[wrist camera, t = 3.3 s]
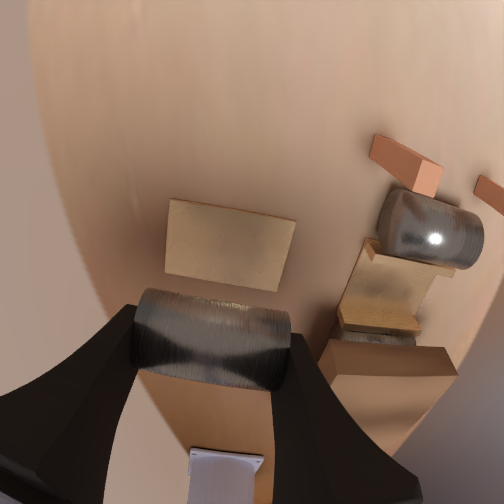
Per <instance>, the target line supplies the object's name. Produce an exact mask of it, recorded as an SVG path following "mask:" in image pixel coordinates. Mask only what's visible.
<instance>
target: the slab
mask: <svg viewBox="0 0 504 504" xmlns="http://www.w3.org/2000/svg"><path fill="white" fill-rule="evenodd" d="M318 366H319V368H320V370H321V372H322V373H323V375H324V377H325V378H326V380H327V382H328V384H329V385H330V387H331V388H332V390H333V392H334V393H335V395H336V396H337V398H338V399H339V401H340V402H341V403H342V405H343V406H344V408H345V409H346V410H347V412H348V413H349V414H350V416H351V417H352V418H353V419H354V421H355V422H356V423H357V424H358V425H359V426H360V428H361V429H362V430H363V431H364V432H365V433H366V434H367V435H368V436H369V437H370V438H371V439H372V440H373V441H374V442H375V443H376V444H377V445H378V446H379V447H380V448H381V449H382V450H383V451H384V452H385V451H387V450H388V449H389V448H390V447H391V446H392V445H393V444H394V443H395V442H397V441H398V440H399V439H400V438H401V437H402V436H403V435H404V434H405V433H406V432H407V431H408V430H409V429H410V428H411V427H412V426H413V425H414V424H415V423H416V422H417V421H418V420H419V419H420V418H421V417H422V416H423V415H424V414H425V413H426V412H427V411H428V410H429V409H430V408H431V407H432V405H433V404H434V403H435V402H436V401H437V400H438V399H439V398H440V397H441V396H442V394H443V393H444V392H445V391H446V390H447V389H448V387H449V386H450V385H451V384H452V383H453V381H454V380H455V379H456V378H457V377H458V373H457V371H456V369H455V367H454V365H453V363H452V361H451V359H450V357H449V355H448V353H447V351H446V350H445V348H444V347H427V346H409V345H393V344H379V343H367V342H356V341H345V340H335V339H329V341H328V344H327V346H326V348H325V350H324V352H323V354H322V356H321V358H320V360H319V362H318Z"/></svg>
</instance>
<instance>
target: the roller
mask: <svg viewBox="0 0 504 504" xmlns="http://www.w3.org/2000/svg"><path fill="white" fill-rule="evenodd" d="M290 342H291V322H290V317H289V314H288V312H286V311H279V310H273V309H266V308H260V307H254V306H247V305H241V304H235V303H229V302H224V301H218V300H212V299H207V298H201V297H196V296H190V295H185V294H180V293H174V292H169V291H164V290H159V289H154V288H147V289H146V290H145V291H144V293H143V295H142V297H141V299H140V301H139V304H138V307H137V310H136V314H135V318H134V324H133V328H132V335H131V348H130V353H131V362H132V366H133V367H134V368H135V369H140V370H144V371H148V372H153V373H157V374H162V375H167V376H171V377H176V378H182V379H187V380H192V381H198V382H203V383H209V384H216V385H222V386H229V387H236V388H243V389H251V390H259V391H268V392H276V391H278V389H279V388H280V386H281V384H282V381H283V378H284V375H285V372H286V368H287V363H288V356H289V347H290Z"/></svg>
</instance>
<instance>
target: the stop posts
mask: <svg viewBox="0 0 504 504" xmlns="http://www.w3.org/2000/svg"><path fill="white" fill-rule="evenodd" d="M369 157H370V158H371V159H372V160H374V161H375V162H376V163H377V164H379V165H380V166H381V167H383V168H384V169H385V170H387V171H388V172H389V173H390V174H392V175H393V176H394V177H395V178H397V179H398V180H399V181H400V182H402V183H403V184H404V185H405V186H407V187H408V188H409V189H410V190H411V191H413V192H416V193H420V194H423V195H426V196H429V197H432V198H434V196H435V193H436V190H437V188H438V185H439V182H440V179H441V176H442V173H443V170H444V167H442V166H440V165H439V164H437V163H435V162H433V161H432V160H430V159H428V158H426V157H424V156H423V155H421V154H419V153H417V152H415V151H413V150H412V149H410V148H408V147H406V146H404V145H402V144H400V143H398V142H396V141H394V140H392V139H389V138H386V137H383V136H380V135H377V134H375V137H374V141H373V144H372V148H371V151H370V154H369ZM473 194H474V195H476V196H477V197H479V198H480V199H482V200H483V201H484V202H486V203H487V204H489V205H490V206H491V207H493V208H494V209H495V210H497V211H498V212H499V213H501V214H502V215H503V216H504V188H503V187H501V186H499V185H498V184H496V183H495V182H493V181H491V180H489V179H487V178H485V177H483V176H481V175H480V177H479V179H478V182H477V185H476V188H475V191H474V193H473Z"/></svg>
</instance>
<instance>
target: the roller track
mask: <svg viewBox="0 0 504 504" xmlns="http://www.w3.org/2000/svg"><path fill="white" fill-rule="evenodd" d="M295 226H296V221H295V220H290V219H285V218H280V217H274V216H269V215H264V214H258V213H253V212H248V211H242V210H237V209H231V208H225V207H220V206H214V205H208V204H202V203H196V202H190V201H184V200H178V199H172V198H171V199H170V203H169V215H168V227H167V241H166V257H165V273H170V274H175V275H180V276H186V277H191V278H197V279H202V280H208V281H214V282H219V283H225V284H231V285H237V286H243V287H248V288H255V289H261V290H267V291H273V292H277V289H278V285H279V282H280V278H281V275H282V271H283V268H284V265H285V261H286V258H287V254H288V251H289V247H290V244H291V240H292V236H293V233H294V229H295ZM378 239H379V241H378V240H373V239H369V238H366V239H365V242H364V245H363V247H362V250H361V252H360V255H359V257H358V260H357V262H356V265H355V267H354V270H353V272H352V275H351V277H350V280H349V282H348V284H347V287H346V289H345V292H344V294H343V296H342V299H341V301H340V303H339V305H338V308H337V310H336V311H337V315H338V318H339V323H337V324H336V325H335V326H334V327H333V329H332V331H331V334H330V337H329V339H335V340H345V341H356V342H367V343H379V344H393V345H409V346H416V340H415V337H414V336H419V335H420V333H421V331H422V330H421V328H420V326H419V324H418V322H417V320H416V319H415V317H414V315H415V313H416V311H417V310H418V308H419V306H420V304H421V303H422V301H423V299H424V297H425V295H426V293H427V291H428V290H429V288H430V286H431V284H432V282H433V280H434V278H435V276H436V275H440V276H445V277H450V278H452V277H453V275H454V274H455V272H456V270H455V269H454V268H456V269H460V270H465V269H468V268H470V267H471V266H472V265H473V264H474V263H475V262H476V261H477V259H478V258H479V256H480V254H481V251H482V248H483V244H484V229H483V225H482V222H481V220H480V218H479V217H478V216H477V215H476V214H474V213H472V212H469V211H466V210H463V209H461V208H458V207H455V206H452V205H449V204H446V203H444V202H441V201H438V200H435V199H432V198H429V197H426V196H422V195H419V194H416V193H413V192H410V191H407V190H403V189H395V190H394V191H392V192H391V193H390V194H389V196H388V197H387V199H386V201H385V203H384V205H383V207H382V210H381V214H380V218H379V224H378ZM328 341H329V340H328ZM318 362H319V361H318ZM318 362H317V364H318Z"/></svg>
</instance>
